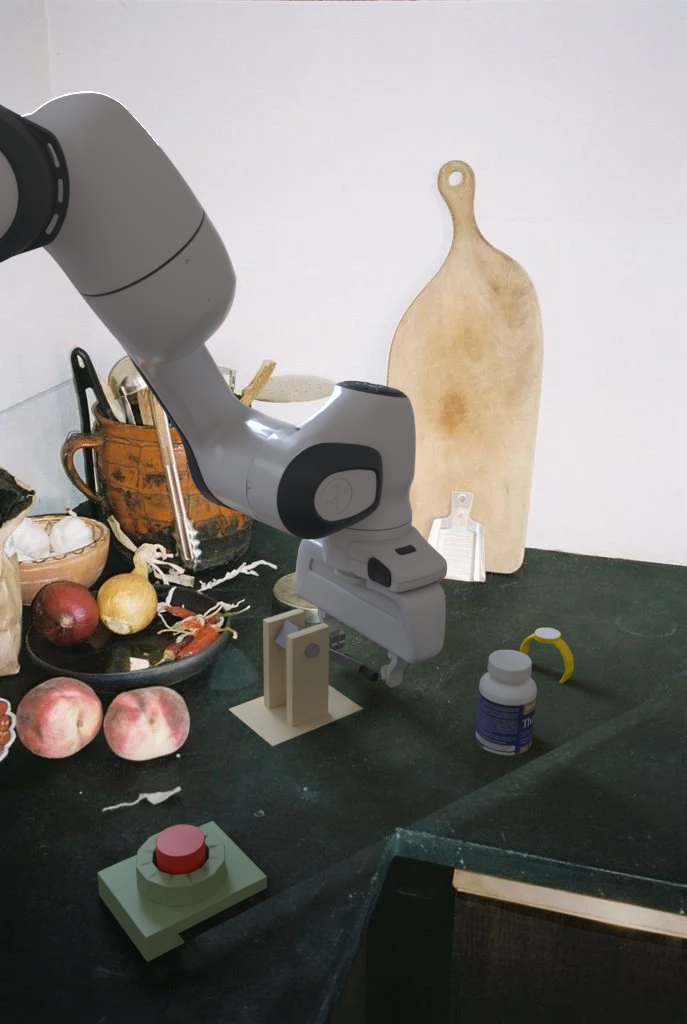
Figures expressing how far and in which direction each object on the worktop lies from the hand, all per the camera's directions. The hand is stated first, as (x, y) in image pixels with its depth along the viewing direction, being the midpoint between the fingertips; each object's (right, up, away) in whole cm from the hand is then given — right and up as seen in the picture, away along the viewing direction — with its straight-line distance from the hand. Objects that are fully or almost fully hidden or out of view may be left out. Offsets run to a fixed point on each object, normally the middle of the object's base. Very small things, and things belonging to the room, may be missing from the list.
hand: (361, 664), depth 98 cm
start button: (-14, -10, -28) cm, 33 cm away
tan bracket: (-7, -5, -4) cm, 9 cm away
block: (-14, -13, -27) cm, 33 cm away
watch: (+20, -3, +4) cm, 21 cm away
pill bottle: (+13, -7, -8) cm, 17 cm away
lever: (-4, +1, -4) cm, 6 cm away
